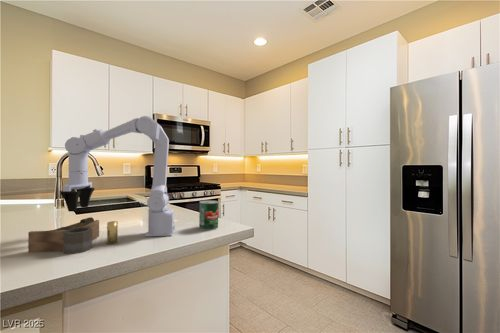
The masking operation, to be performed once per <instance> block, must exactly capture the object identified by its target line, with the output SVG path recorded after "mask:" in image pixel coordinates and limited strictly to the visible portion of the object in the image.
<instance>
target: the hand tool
mask: <svg viewBox="0 0 500 333" xmlns="http://www.w3.org/2000/svg"><path fill="white" fill-rule="evenodd" d="M93 221H95V219H94V217H92V216H91V217H87V218H83V219H80V220H79V222H76V223H73V224H70V225H67V226H61V227H59V228H55V229H51V230H48V231H55V230H68V229H72V228H79V227H84V226H86V225H88V224H89V223H91V222H93Z"/></svg>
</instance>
